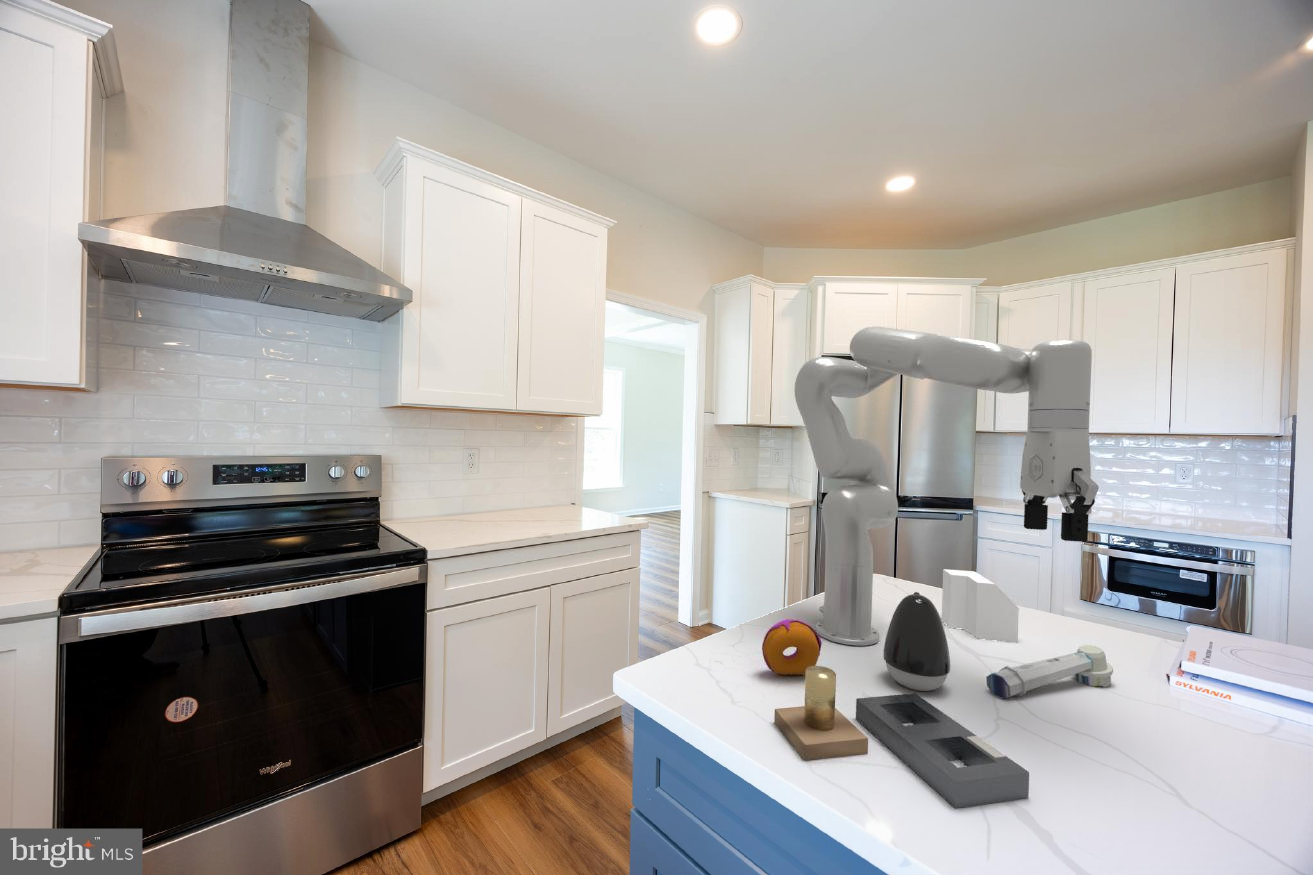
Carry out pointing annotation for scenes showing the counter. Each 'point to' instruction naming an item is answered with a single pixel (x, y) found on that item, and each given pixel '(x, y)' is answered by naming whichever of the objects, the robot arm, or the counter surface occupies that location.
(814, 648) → the donut
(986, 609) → the corner bracket
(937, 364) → the robot arm
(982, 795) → the rail
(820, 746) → the brown flat square block
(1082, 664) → the grey mallet
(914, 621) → the black egg pod
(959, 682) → the counter surface
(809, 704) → the brass peg
